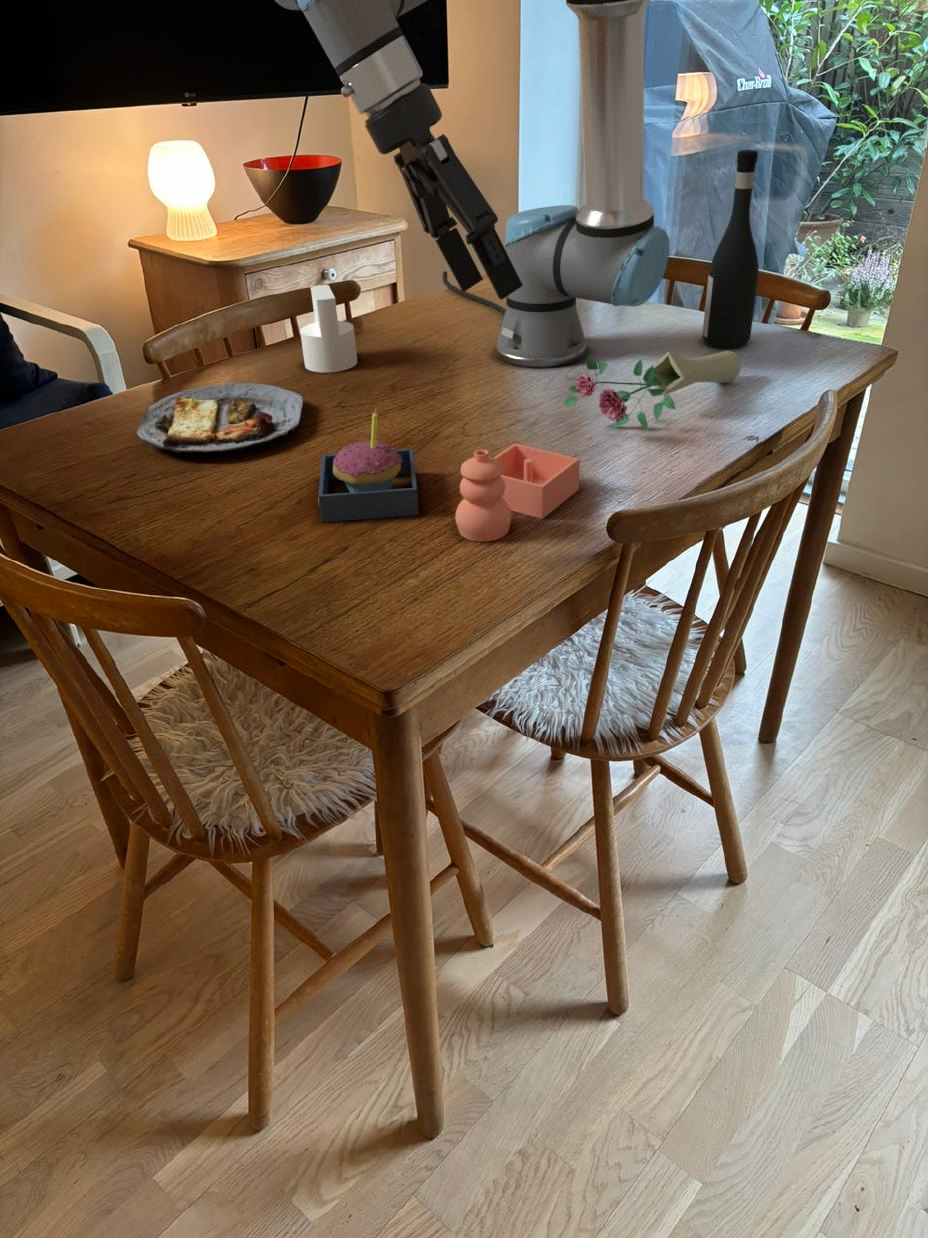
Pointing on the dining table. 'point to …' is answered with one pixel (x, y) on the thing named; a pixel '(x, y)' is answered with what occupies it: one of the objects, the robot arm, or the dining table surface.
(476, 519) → the pottery
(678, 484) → the dining table surface
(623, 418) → the flower vase
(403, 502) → the rectangular frame
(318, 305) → the cylinder with rectangular tab
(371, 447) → the cupcake
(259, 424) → the food plate
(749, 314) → the wine bottle
